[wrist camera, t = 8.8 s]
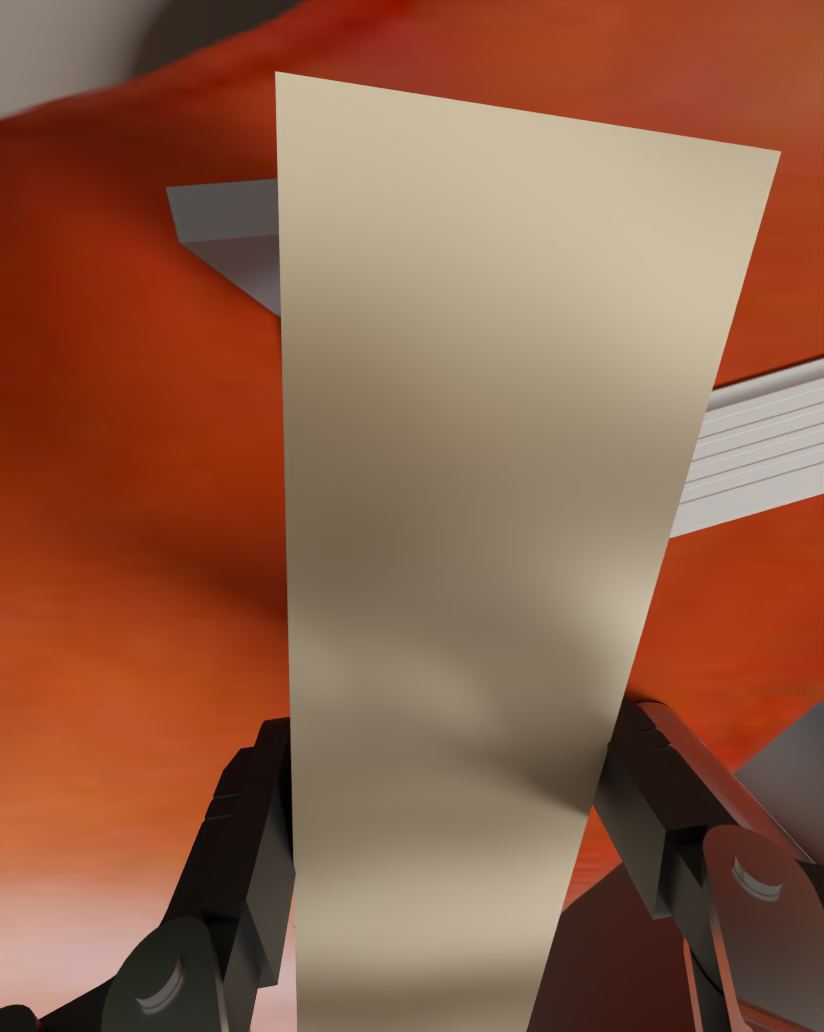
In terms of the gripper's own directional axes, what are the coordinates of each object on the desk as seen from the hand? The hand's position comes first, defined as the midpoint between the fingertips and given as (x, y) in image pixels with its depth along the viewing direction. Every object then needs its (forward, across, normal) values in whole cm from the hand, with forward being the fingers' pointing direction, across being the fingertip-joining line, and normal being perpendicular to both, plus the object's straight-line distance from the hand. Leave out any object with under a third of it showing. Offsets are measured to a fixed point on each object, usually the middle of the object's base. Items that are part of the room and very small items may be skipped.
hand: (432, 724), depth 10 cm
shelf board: (+1, 0, 0) cm, 1 cm away
